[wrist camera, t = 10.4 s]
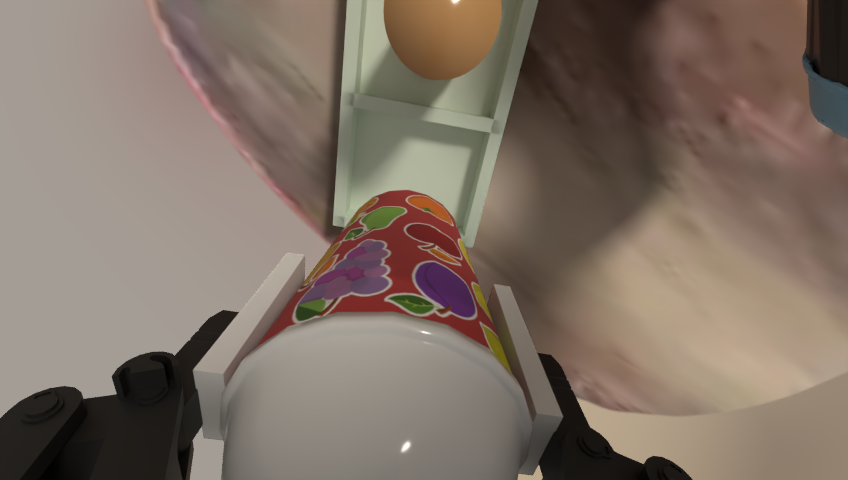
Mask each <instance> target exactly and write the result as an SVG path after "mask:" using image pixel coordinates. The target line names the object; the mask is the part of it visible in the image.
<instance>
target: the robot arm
mask: <svg viewBox="0 0 848 480" xmlns="http://www.w3.org/2000/svg"><path fill="white" fill-rule="evenodd" d="M802 62H803V67H804V69H805V72H806V73H807V74H808V81H809V98H810V107H811V111H812V113H813V115H814V116H815V118H816V119H817V120H818V122H820V123H821V124H823V125H825V126H826V127H828V128H830V129H831V130H832V131H833V132H834V133H836V134H838V135H840V136H842V137H845V138H848V0H808V3H807V42H806V49H805V53H804V55H803V60H802ZM304 274H305V255H302V254H295V253H289V252H287V253H286V255H285V256H284V257H283V258H282V260H281V261H280V262H279V264H278V265H277V266H276V267H275V269H274V270H273V271H272V272H271V273H270V275H269V276H268V277H267V278H266V280H265V281H264V282H263V284H262V285H261V286H260V287H259V288H258V290H257V291H256V292H255V293H254V295H253V296H252V297H251V298H250V300H249V301H248V302H247V303H246V305H245V306H244V307H243V308H242V310H241V311H240V312H233V311H226V310H223V311H221V312H219V313H217V314H216V315H214V316H212V317H210V318H209V319H208V320H207V321H206V322H205V323H204V324H203V325H202V326H201V327H200V329H199V331H198V332H196V333H195V334H194V335H193V336H192V337H191V340H190V341H188V342H187V343H186V344H185V345H184V346H183V347H182V348H181V350H180V351H179V352H178V353H177V354H176V355H175V356H174V355H173V354H170V353H167V352H150V353H146V354H143V355H139V356H137V357H134V358H132V359H130V360H128V361H126V362H125V363H124V364H123V365H121V366H120V367H119V368H117V370H116V371H115V373H114V374H113V375H112V379H113V382H114V386H115V389H116V392H117V394H116V395H110V396H103V397H95V398H87V399H83V396H82V393H81V392H80V391H79V390H77V389H76V388H73V387H66V386H62V387H56V388H49V389H46V390H43V391H41V392H38V393H35V394H33V395H31V396H29V397H27V398H25V399H23V400H22V401H20V402H18V403H17V404H16V405H15V406H13V407H12V408H11V409H10V410H8V411H7V413H5V414H4V415H3V416H2V417H1V418H0V480H190V473H191V466H192V458H193V451H194V448H193V441H192V440H193V439H194V437H195V436H196V434H197V433H198V431H199V429H200V428H201V426H202V429H203V436H204V438H208V439H216V440H223V438H222V436H221V433H220V431H219V424H220V411H221V397H222V392H223V391H224V389H225V387H226V386H227V384H228V382H229V381H230V379H231V378H232V376H233V374H234V373H235V371H236V369H237V368H238V366H239V365H240V363H241V361H242V360H243V359H244V358H245V357H246V356H247V355H248V354H249V353H250V352H251V351H252V350H254V349H255V348H256V347H257V346H258V344H259V343H260V341H261V339H262V338H263V336H264V335H265V334H266V332H267V331H268V330H269V328H270V327H271V326H272V324H273V323H274V322H275V320H276V319H277V318H278V316H279V315H280V314H281V312H282V311H283V310H284V308H285V307H286V306H287V304H288V303H289V302H290V300H291V299H292V298H293V296H294V295H295V293H296V292H297V291H298V289H299V288H300V287H301V285H302V284H303V283H304V276H305V275H304ZM487 308H488V310H489V313H490V316H491V318H492V321H493V324H494V326H495V329H496V332H497V334H498V337H499V339H500V342H501V345H502V347H503V350H504V353H505V355H506V358H507V361H508V363H509V366H510V369H511V371H512V374H513V376H514V377H515V378H516V379H517V380H518V382H519V384H520V386H521V388H522V390H523V393H524V396H525V399H526V402H527V406H528V409H529V412H530V416H531V419H532V422H533V428H532V434H531V440H530V445H529V451H528V456H527V460H526V461H525V463H524V464H523V465H522V467H521V468H520V470H519V473H518V474H526V475H533V474H534V472H535V470H536V468H537V466H538V465H539V466H540V469H541V472H542V476H543V479H542V480H692V479H691V477H690V476H689V475H688V474H687V473H686V472H685V471H684V470H683V469H681V468H680V467H679V466H678V465H676V464H675V463H673V462H672V461H670V460H667V459H665V458H663V457H657V456H652V457H650V458H648V459H647V460H646V462H645V463H644V464H642V463H639V462H637V461H635V460H632V459H630V458H627V457H625V456H623V455H620V454H618V453H616V452H614V450H613V449H612V447H611V446H610V444H609V443H608V441H607V440H606V439H605V438H604V437H603V436H602V435H600V433H598V432H596V431H595V430H593V429H592V428H590V426H589V424H588V422H587V420H586V418H585V416H584V414H583V412H582V409H581V407H580V405H579V403H578V401H577V399H576V397H575V395H574V393H573V390H571V386H570V384H569V382H568V380H566V376H565V374H564V371H563V369H562V367H561V366H560V364H559V363H558V362H557V361H556V360H555V359H554V358H553V357H552V356H551V355H547V354H540V353H537V352H536V349H535V347H534V344H533V342H532V339H531V337H530V334H529V332H528V330H527V327H526V325H525V322H524V320H523V317H522V315H521V312H520V310H519V308H518V305H517V303H516V300H515V298H514V295H513V293H512V290H511V288H510V286H504V285H498V284H493V288H492V291H491V294H490V297H489V301H488V304H487Z"/></svg>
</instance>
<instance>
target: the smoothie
mask: <svg viewBox="0 0 848 480" xmlns="http://www.w3.org/2000/svg"><path fill="white" fill-rule="evenodd" d="M532 428H533V422H532V419H531V416H530V412H529V409H528V406H527V402H526V399H525V396H524V393H523V390H522V388H521V386H520V384H519V382H518V380H517V379H516V378H515V377H514V376H513V374H512V371H511V369H510V366H509V363H508V361H507V358H506V355H505V353H504V350H503V347H502V345H501V342H500V339H499V337H498V334H497V332H496V329H495V326H494V324H493V321H492V318H491V316H490V313H489V310H488V308H487V305H486V302H485V300H484V297H483V294H482V292H481V289H480V286H479V284H478V281H477V278H476V276H475V273H474V270H473V268H472V265H471V263H470V260H469V257H468V255H467V252H466V249H465V247H464V244H463V241H462V239H461V236H460V233H459V230H458V228H457V225H456V222H455V220H454V218H453V216H452V215H451V214H450V213H449V211H448V210H447V209H446V208H445V207H444V205H443V204H441V203H440V202H438V201H436V200H435V199H433V198H432V197H430V196H428V195H426V194H423V193H419V192H415V191H411V190H396V191H388V192H385V193H382V194H380V195H377V196H374V197H372V198H371V199H370V200H368V201H367V202H366V203H365V204H364V205H362V206H361V207H360V208H359V209H358V210H357V212H356V213H355V214H354V216H353V217H352V218H351V220H350V221H349V222H348V224H347V225H346V226H345V228H344V229H343V230H342V232H341V233H340V234H339V236H338V237H337V238H336V240H335V241H334V243H333V244H332V245H331V247H330V248H329V249H328V251H327V252H326V253H325V255H324V256H323V257H322V259H321V260H320V261H319V263H318V264H317V265H316V267H315V268H314V269H313V271H312V272H311V273H310V275H309V276H308V277H307V279H306V280H305V281H304V283H303V284H302V285H301V287H300V288H299V289H298V291H297V292H296V293H295V295H294V296H293V298H292V299H291V300H290V302H289V303H288V304H287V306H286V307H285V308H284V310H283V311H282V312H281V314H280V315H279V316H278V318H277V319H276V320H275V322H274V323H273V324H272V326H271V327H270V328H269V330H268V331H267V332H266V334H265V335H264V336H263V338H262V339H261V341H260V343H259V344H258V346H257V347H256V348H255V349H254V350H252V351H251V352H250V353H249V354H248V355H247V356H246V357H245V358H244V359H243V360H242V361H241V363H240V365H239V366H238V368H237V369H236V371H235V373H234V374H233V376H232V378H231V379H230V381H229V382H228V384H227V386H226V387H225V389H224V391H223V392H222V397H221V411H220V424H219V431H220V433H221V436H222V438H223V440H224V453H223V464H222V476H221V480H517V478H518V473H519V470H520V468H521V467H522V465H523V464H524V463H525V461H526V460H527V456H528V451H529V445H530V440H531V434H532Z"/></svg>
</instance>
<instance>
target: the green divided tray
mask: <svg viewBox="0 0 848 480" xmlns="http://www.w3.org/2000/svg"><path fill="white" fill-rule="evenodd" d="M537 4H538V0H501V20H500V26H499V30H498V33H497V36H496V39H495V41H494V44H493V45H492V47H491V49H490V51H489V52H488V54H487V55H486V56H485V58H484V59H483V60H482V61H481V62H480V63H479V64H478V65H477V66H476V67H475V68H474V69H472V70H471V71H469V72H468V73H466V74H464V75H462V76H460V77H456V78H453V79H448V80H429V79H425V78H423V77H421V76H419V75H418V74H416V73H415V72H413V71H412V70H410V69H409V68H408V67H407V66H405V65H404V64H403V62H402V61H401V60H400V59H399V58H398V56H397V55H396V54H395V52H394V50H393V48H392V47H391V44H390V42H389V40H388V37H387V33H386V30H385V24H384V13H383V10H384V0H347V12H346V27H345V43H344V58H343V74H342V89H341V105H340V121H339V136H338V152H337V167H336V183H335V198H334V214H333V225H334V226H340V227H345V226H346V225H347V224H348V222H349V221H350V220H351V218H352V217H353V216H354V214H355V213H356V212H357V210H358V209H359V208H360V207H361V206H362V205H364V204H365V203H366V202H367V201H368V200H370V199H371V198H372V197H374V196H377V195H380V194H382V193H385V192H388V191H396V190H411V191H415V192H419V193H423V194H426V195H428V196H430V197H432V198H433V199H435V200H436V201H438V202H440V203H441V204H443V205H444V207H445V208H446V209H447V210H448V211H449V213H450V214H451V215H452V216H453V218H454V220H455V222H456V225H457V228H458V230H459V233H460V236H461V239H462V241H463V244H464V247H470V248H473V245H474V241H475V237H476V233H477V230H478V226H479V222H480V218H481V215H482V211H483V207H484V203H485V200H486V196H487V192H488V188H489V185H490V181H491V177H492V173H493V169H494V166H495V162H496V158H497V154H498V151H499V147H500V143H501V139H502V136H503V132H504V128H505V124H506V121H507V117H508V113H509V109H510V105H511V102H512V98H513V94H514V90H515V87H516V83H517V79H518V75H519V72H520V68H521V64H522V60H523V57H524V53H525V49H526V45H527V41H528V38H529V34H530V30H531V26H532V23H533V19H534V15H535V11H536V8H537Z"/></svg>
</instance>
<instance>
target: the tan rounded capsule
mask: <svg viewBox="0 0 848 480" xmlns="http://www.w3.org/2000/svg"><path fill="white" fill-rule="evenodd" d="M383 13H384V24H385V30H386V33H387V37H388V40H389V42H390V44H391V47H392V48H393V50H394V52H395V54H396V55H397V56H398V58H399V59H400V60H401V61H402V62H403V64H404V65H405V66H407V67H408V68H409V69H410V70H412V71H413V72H415V73H416V74H418V75H419V76H421V77H423V78H425V79H429V80H448V79H453V78H456V77H460V76H462V75H464V74H466V73H468V72H469V71H471V70H472V69H474V68H475V67H476V66H477V65H478V64H479V63H480V62H481V61H482V60H483V59H484V58H485V56H486V55H487V54H488V52H489V51H490V49H491V47H492V45H493V44H494V41H495V39H496V36H497V33H498V30H499V26H500V20H501V0H384V10H383Z"/></svg>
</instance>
